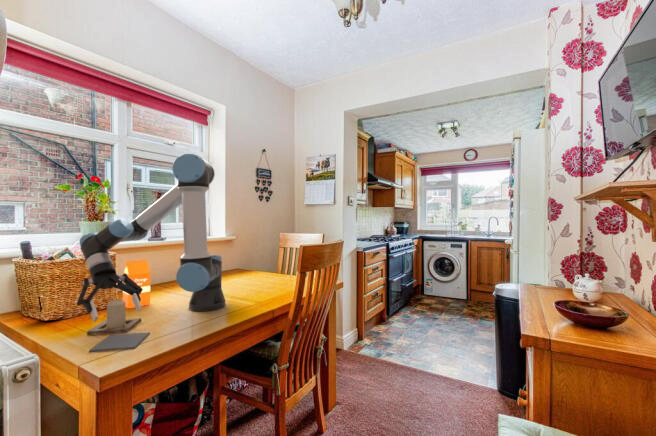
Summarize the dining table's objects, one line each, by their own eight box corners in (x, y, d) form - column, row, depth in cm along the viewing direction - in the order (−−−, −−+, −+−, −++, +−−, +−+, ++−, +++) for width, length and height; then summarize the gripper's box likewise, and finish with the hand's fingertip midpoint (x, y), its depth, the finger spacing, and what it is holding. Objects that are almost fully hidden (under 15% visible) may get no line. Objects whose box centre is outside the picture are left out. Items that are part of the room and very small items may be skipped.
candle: (104, 331, 105) (104, 302, 105) (108, 326, 110) (109, 298, 110) (123, 329, 107) (123, 300, 107) (126, 324, 112) (127, 297, 112)
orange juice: (150, 304, 138) (150, 260, 139) (128, 308, 132) (128, 262, 132) (144, 301, 143) (144, 259, 144) (122, 305, 137) (122, 260, 137)
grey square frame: (141, 321, 115) (141, 318, 115) (127, 332, 104) (127, 329, 104) (105, 323, 113) (105, 319, 113) (87, 335, 101) (87, 331, 101)
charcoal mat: (149, 334, 102) (149, 332, 102) (134, 348, 90) (134, 346, 90) (109, 336, 100) (109, 334, 100) (88, 352, 88) (89, 350, 88)
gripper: (133, 269, 127) (151, 311, 119) (56, 279, 106) (71, 330, 98) (139, 257, 124) (158, 300, 116) (61, 265, 104) (78, 317, 95)
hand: (118, 314), depth 107 cm, fingers open, 13 cm apart
